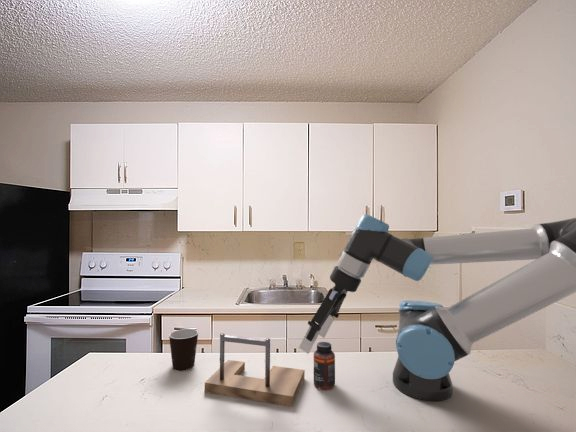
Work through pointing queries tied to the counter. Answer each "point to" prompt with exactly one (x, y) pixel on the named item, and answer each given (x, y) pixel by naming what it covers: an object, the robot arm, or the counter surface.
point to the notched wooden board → (257, 384)
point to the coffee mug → (183, 348)
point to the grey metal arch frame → (245, 340)
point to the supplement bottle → (324, 366)
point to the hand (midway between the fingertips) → (312, 342)
